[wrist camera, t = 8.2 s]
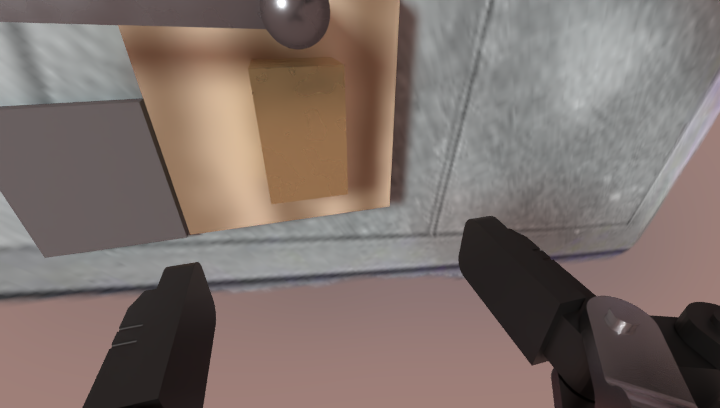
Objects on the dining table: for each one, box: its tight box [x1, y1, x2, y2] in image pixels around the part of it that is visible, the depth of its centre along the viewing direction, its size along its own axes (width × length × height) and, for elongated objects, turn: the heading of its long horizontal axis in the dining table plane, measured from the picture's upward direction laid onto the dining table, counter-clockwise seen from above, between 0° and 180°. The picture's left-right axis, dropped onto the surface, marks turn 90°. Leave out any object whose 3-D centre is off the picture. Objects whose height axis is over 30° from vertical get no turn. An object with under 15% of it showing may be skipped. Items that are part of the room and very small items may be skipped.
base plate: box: [118, 0, 400, 235], centre depth 23 cm, size 16×16×3 cm
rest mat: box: [0, 99, 189, 258], centre depth 23 cm, size 10×11×1 cm
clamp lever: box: [0, 0, 330, 49], centre depth 14 cm, size 18×3×6 cm, turn 88°
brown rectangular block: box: [248, 57, 348, 204], centre depth 20 cm, size 5×8×4 cm, turn 0°
